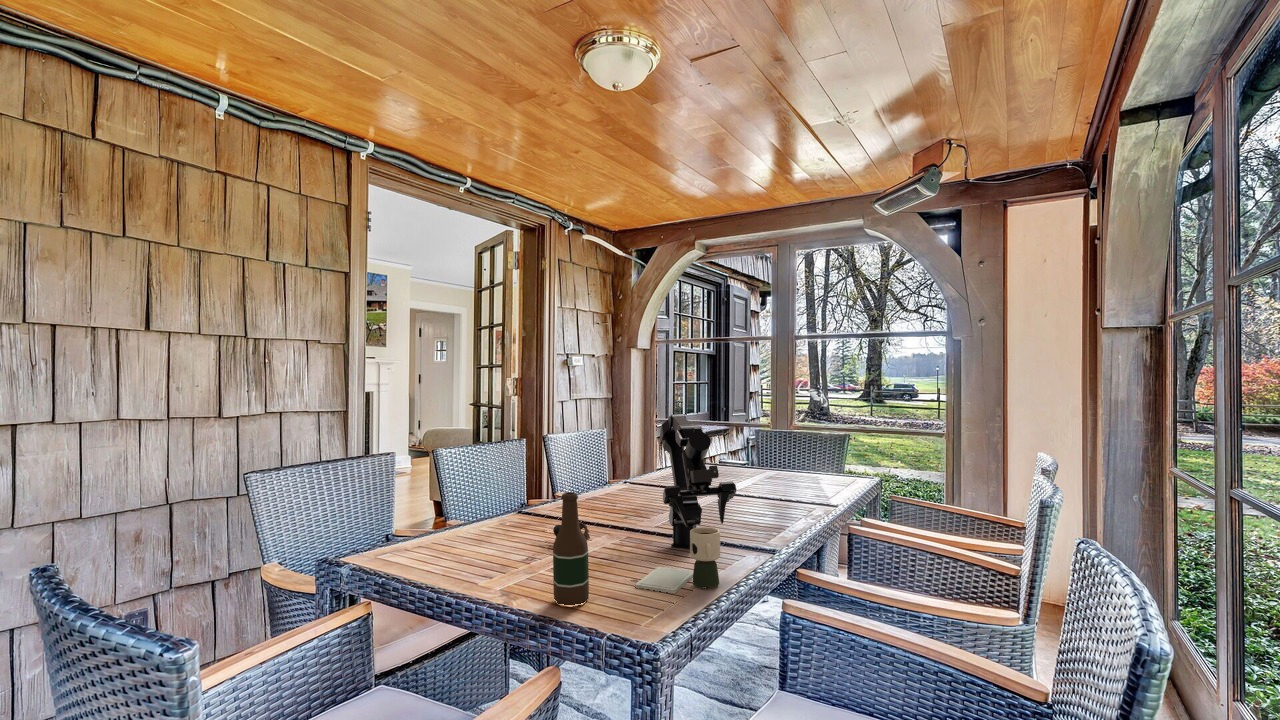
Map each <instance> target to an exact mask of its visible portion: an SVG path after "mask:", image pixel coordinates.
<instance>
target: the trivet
mask: <svg viewBox="0 0 1280 720" xmlns="http://www.w3.org/2000/svg"><path fill="white" fill-rule="evenodd" d="M693 572H694V570H689V569H688V570H687V569H682V568H679V569H678V568H673V567H665V566H657V567H656V568H654V569H653V570H652V571H651V572H649V573H648V574H647V575H646V576H644V577H643V578H642V579H639V581H638V582H636V583H635V584H634V588H635V587H636V588H635V589H639V588H644V589H643V590H646V589H650V590H649V591H653V590H655V591H654V592H659V591H661V593H666V592H668V594H672V593H675V594H676V593H677V592H678V591H679V590H681V588H683V586H686V584H687V583H688V582H689V581H690V580H691V579H693Z"/></svg>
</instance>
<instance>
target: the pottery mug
mask: <svg viewBox="0 0 1280 720" xmlns="http://www.w3.org/2000/svg"><path fill="white" fill-rule="evenodd" d="M579 526H580V530H581V531H582V530H584V532H583V534H584V536H585V538H586V541H587V542H588V540H590V539H591V536H590V534H589V532H590V531H589V529H588V526H587V524H585V523H584V522H581V521H579ZM560 530H561V524H555V526H554V527H553V530H552V533H553V534H554V536H555V537H556V536H557V535H558V533H559V532H560Z"/></svg>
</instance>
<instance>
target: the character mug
mask: <svg viewBox="0 0 1280 720" xmlns="http://www.w3.org/2000/svg"><path fill="white" fill-rule="evenodd" d="M720 531H721V530H719V529H718V528H715V527H709V526H708V527H707V526H699V527H696V528H693V529H691V530H690V548H689V550H690V551H689V554H690V558H691V559H693V560H695V562H694V565H693V571H694V572H693V577H692V585H693V586H695V587H696V588H700V589H704V588H706V589H708V588H711V587H716V586H717V587H718V586H719V585H720V576H719V570H718V569H719V568H718V565H717V560H719V559H721V532H720Z"/></svg>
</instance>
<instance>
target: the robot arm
mask: <svg viewBox="0 0 1280 720" xmlns="http://www.w3.org/2000/svg"><path fill="white" fill-rule="evenodd" d="M686 416H687V415H686V414H682V413H681V414H679V413H678V414H670V415H668V419H667V420H665V421H664V422H663V423H662V424H661V426H660V429H659V431H660V432H659V438H660V442H661V443H662V447H663V449H664V450H665V451H666V452H667V453H668V455H669V459H670V460H669V461H670V466H671V467H670V468H671V472H672V479H673V485H667V486H665V487H664V488H663V492H662V501H663V504H665V505H668V506H669V513H668V523H669V524H670V526H671V527H672V543H671V544H670V546H671V547H676V548H683V549H690V530H691V529H693V528H697V525H698V526H700V525H701V523H702V513H703V508H702V506H701V503H699V501H698V497H706V496H717V498H718V499H717V507H718V515H719V521H720V524H721V525H722V524H723V523H724V520H725V513H726V512H725V511H726V506H727V503H729V502H730V500H732V499H734V497H735V495H736V494H737V487H736V484H735V482H734V481H720V482H719V484H718V487H717V486H716V487H715V486H714V487H710V486H711V485H712V482H713V479H718V478H719V474H720V473H719V470H718V465H710V466H708V468H707V466H706V462H705V458H706V456H707V454H708V452H709V449H710V447H711V444H712V441H711V438H710V436H709V435H708V434H707V433H706V431H705V430H704V429H703V428H702V425H700V424H692V423H691V422H690V421H689V420H688V419H687V417H686Z"/></svg>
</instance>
